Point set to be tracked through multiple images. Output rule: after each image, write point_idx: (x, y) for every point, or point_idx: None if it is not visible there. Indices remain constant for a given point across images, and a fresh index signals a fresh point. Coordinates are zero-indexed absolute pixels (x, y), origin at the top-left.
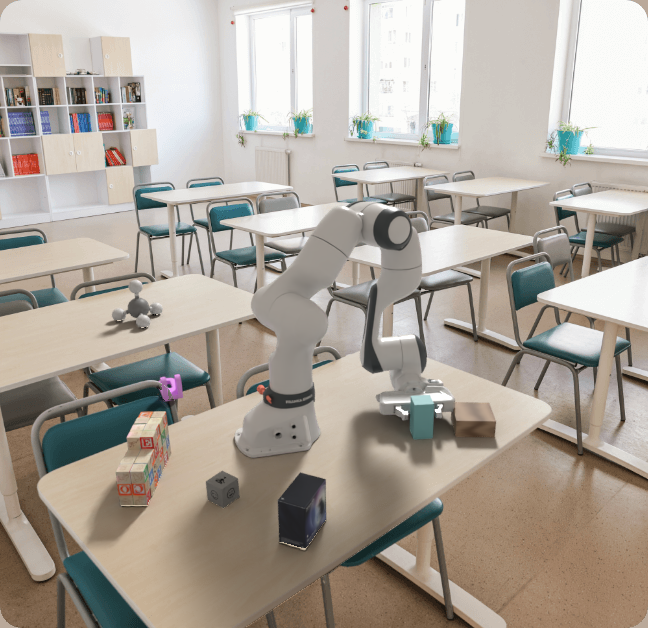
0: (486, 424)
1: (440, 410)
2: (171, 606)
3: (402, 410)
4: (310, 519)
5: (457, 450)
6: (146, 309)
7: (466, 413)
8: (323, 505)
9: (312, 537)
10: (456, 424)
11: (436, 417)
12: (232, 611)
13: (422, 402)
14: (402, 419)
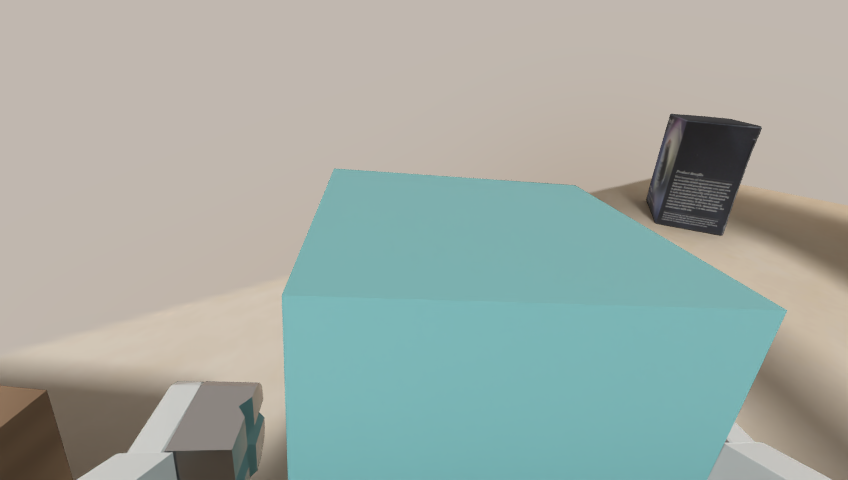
0: None
1: (153, 422)
2: (745, 188)
3: (756, 456)
4: (660, 150)
5: (221, 373)
6: None
7: None
8: (664, 169)
9: (649, 195)
10: (54, 429)
11: (262, 422)
12: None
13: (483, 194)
14: None
